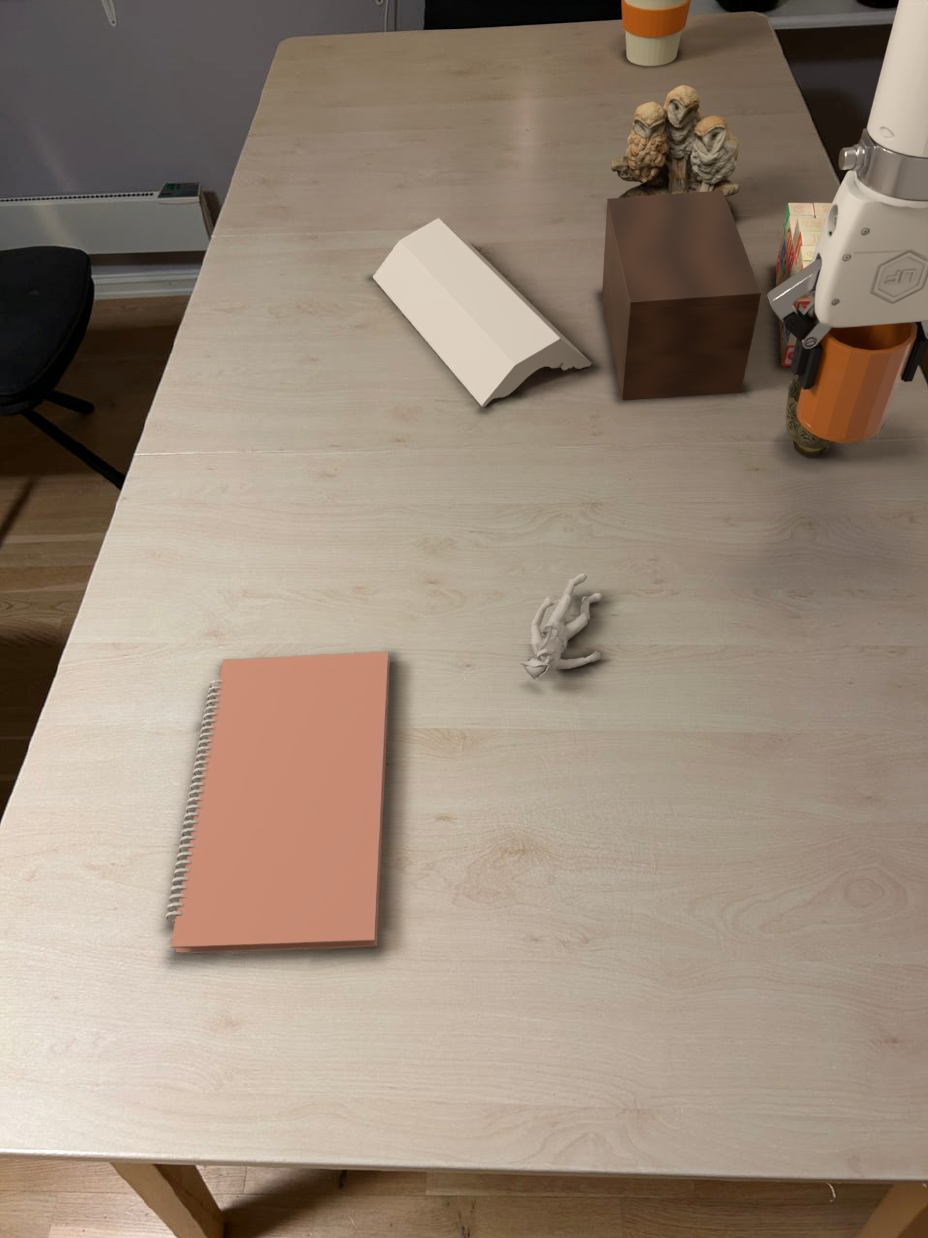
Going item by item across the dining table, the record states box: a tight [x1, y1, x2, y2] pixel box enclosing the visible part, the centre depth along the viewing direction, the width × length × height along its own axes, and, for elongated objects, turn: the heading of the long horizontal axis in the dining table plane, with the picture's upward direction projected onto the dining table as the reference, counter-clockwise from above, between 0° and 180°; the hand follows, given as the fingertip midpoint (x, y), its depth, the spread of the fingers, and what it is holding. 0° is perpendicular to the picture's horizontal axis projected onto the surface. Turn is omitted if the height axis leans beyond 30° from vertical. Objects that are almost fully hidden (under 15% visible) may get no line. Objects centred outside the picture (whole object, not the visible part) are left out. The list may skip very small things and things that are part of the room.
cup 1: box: [785, 377, 837, 458], centre depth 100 cm, size 8×7×8 cm
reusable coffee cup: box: [621, 0, 692, 67], centre depth 163 cm, size 13×13×15 cm
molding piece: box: [372, 217, 593, 408], centre depth 122 cm, size 32×12×10 cm
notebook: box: [164, 650, 391, 954], centre depth 80 cm, size 27×17×2 cm, turn 1°
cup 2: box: [796, 322, 918, 444], centre depth 76 cm, size 7×7×9 cm
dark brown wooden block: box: [601, 190, 763, 401], centre depth 112 cm, size 14×22×13 cm, turn 1°
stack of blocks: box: [775, 202, 832, 367], centre depth 114 cm, size 21×6×12 cm, turn 171°
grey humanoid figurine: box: [519, 572, 603, 681], centre depth 88 cm, size 8×5×12 cm
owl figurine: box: [610, 84, 740, 217], centre depth 129 cm, size 18×12×17 cm, turn 77°
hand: (852, 373), depth 76 cm, fingers closed on cup 2, 7 cm apart
